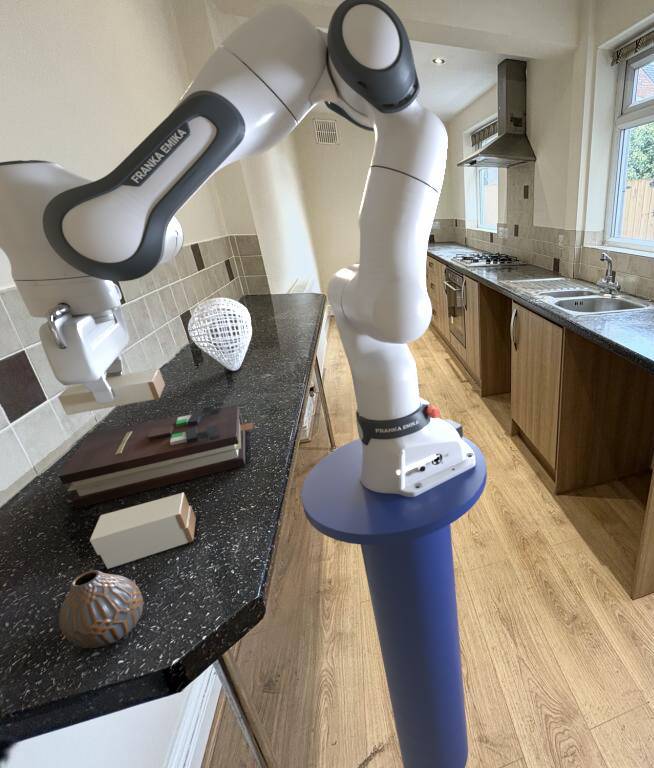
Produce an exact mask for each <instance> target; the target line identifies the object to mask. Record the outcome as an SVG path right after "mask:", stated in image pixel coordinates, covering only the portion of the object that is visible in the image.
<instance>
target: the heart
mask: <svg viewBox="0 0 654 768" xmlns="http://www.w3.org/2000/svg"><path fill="white" fill-rule="evenodd" d="M223 309H224V310H223ZM206 315H207V316H206ZM234 315H235V316H234ZM201 316H202V318H201ZM251 319H252V318H251V314H250V312H249V310H248V308H247V307H246V306H244V305H243V304H242V303H241V302H239V301H237V300H234V299H232V298H227V297H214V298H209V299H205V300H203V301H202V302H200V303H199V304H197V305H196V307H195V308H194V310H193V311H192V315H191V317H190V319H189V321H188V324H187V332H188V334H189V338H190V339H191V341H192V342H193V343H194V344H195V345H196V346H197V347H198V348H199V349H201V350H202V351H203V352H205V354H207V355H209V356H210V357H211V358H213V359H214V360H216V361H217V362H218V363H219V364H220V365H222V366H223V367H224V368H225V369H227V370H229V371H232V372H234V371H238V370H239V369H240V368H241V366H242V364H243V361H244V359H245V356H246V354H247V351H248V349H249V346H250V342H251V340H252V335H253V327H252V320H251ZM208 320H209V322H208ZM203 321H204V322H203ZM226 321H227V322H226ZM231 321H232V322H231ZM235 321H236V322H235ZM213 323H214V324H213ZM232 327H233V329H234V330H233V329H232ZM236 327H237V328H236ZM220 328H221V329H220ZM228 329H229V330H228ZM211 330H212V332H211ZM215 330H217V331H215ZM234 333H235V335H234ZM229 334H230V335H229ZM212 335H213V336H214V337H213V336H212ZM217 335H218V337H217ZM214 344H216V345H214ZM219 344H220V345H219ZM232 347H233V348H232Z"/></svg>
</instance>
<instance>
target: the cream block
mask: <svg viewBox="0 0 654 768" xmlns="http://www.w3.org/2000/svg"><path fill="white" fill-rule="evenodd" d="M124 374H125V375H118V376H112V377H106V378H105V380H106V381H107V383H108V385H109V387H111V386H112V389H113V391H114V393H115V397H114V399H113V400H112V401H111V402H107V403H101V404H100V403H97V402H96V401H95V399H94V396H93V394H92V393H91V392H90V391H89V390H88V389H87V388H86V387H85V386H84V385H83V384H82V383H81V384H74V385H67V387H66V388H65V389H64V390H63V391H62V392H61V393H60V394H59V395H58V396H57V398H58V400H59V403H60V404H61V407H62V409H63V411H64V412H65V415H66V416H70V415H75V414H81V413H87V412H92V411H97V410H103V409H109V408H115V407H119V406H120V407H121V406H125V405H131V404H136V403H142V402H147V401H153V400H158V399H160V398H161V396H162V393H163V391H164V389H165V386H166V384H165V383H166V382H165V380H164V378H163V376H162V373H161V370H160V369H158V368H157V369H151V370H146V371H138V372H132V373H124Z"/></svg>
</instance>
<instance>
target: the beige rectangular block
mask: <svg viewBox="0 0 654 768" xmlns="http://www.w3.org/2000/svg"><path fill="white" fill-rule="evenodd" d="M196 522H197V518H196V515H195V513H194V510H193V506H192V505H189V500H188V499H187V495H186V494H185V492H181V493H176V494H173V495H170V496H166V497H162V498H159V499H154V500H152V501H148V502H144V503H140V504H136V505H133V506H129V507H125V508H123V509H119V510H115V511H112V512H107V513H103V514H101V515H100V516H99V517H98V520H97V522H96V525H95V527H94V529H93V532H92V533H91V537H90V538H89V542H90V544H91V546H92V547H93V550H94V551H95V553H96V555H97V556H100V558H101V559H102V562H103V563H104V565H105V567H106V570H109V569H112V568H115V567H118V566H121V565H125V564H127V563H130V562H134V561H137V560H140V559H143V558H147V557H149V556H152V555H155V554H158V553H162V552H164V551H167V550H170V549H173V548H176V547H179V546H182V545H186V544H188V543H192V542H194V539H195V530H196Z"/></svg>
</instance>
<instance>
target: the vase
mask: <svg viewBox="0 0 654 768" xmlns="http://www.w3.org/2000/svg"><path fill="white" fill-rule="evenodd" d="M143 611H144V598H143V594H142V592H141V590H140V588H139V586H138V585H137V584H136V583H135V582H134V581H132V580H131V579H129V578H128V577H125V576H124V575H119V574H113V573H105V572H102V571H101V570H97V569H93V570H89V571H85V572H83V573H81V574H79V575H78V576H76V577H74V579H73V580H72V581H71V583H70V586H69V591H68V593H67V595H66V596H65V598H64V600H63V602H62V604H61V606H60V609H59V612H58V624H59V629H60V631H61V633H62V635H63V636H64V638H65V639H66V640H67V641H69V642H70V643H71V644H72V645H75V646H76V647H80V648H85V649H95V648H101V647H102V648H103V647H105V646H109V645H111V644H113V643H114V644H115V643H116V642H118V641H119V640H122V638H124V637H125V636H127V635H128V634H129V633H130V632H131V631H132V630H133V629H134V627H135V626H136V625H137V623H138V622H139V621H140V618H141V617H142V614H143Z"/></svg>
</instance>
